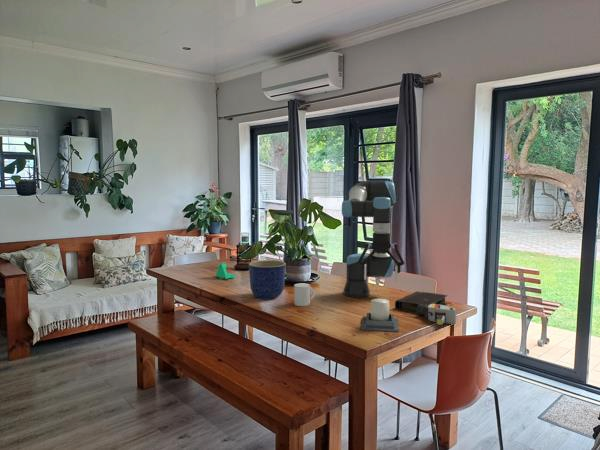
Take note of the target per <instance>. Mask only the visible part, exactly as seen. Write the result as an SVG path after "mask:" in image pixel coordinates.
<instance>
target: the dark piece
mask: <svg viewBox="0 0 600 450" xmlns="http://www.w3.org/2000/svg"><path fill="white" fill-rule="evenodd" d="M249 247H251V248H252V245H251V244H250V242H247V244H241V242H238V244H236V252H235V253H236V264H235V265H233V268H234V269H235V270H236V271H238V270H249V263H251V262H252V258H251V259H250V260H242V259H240V258H239V255H240V254H241V253H242V252H244V251H245V250H247V249H248V248H249Z"/></svg>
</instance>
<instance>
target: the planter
mask: <svg viewBox="0 0 600 450" xmlns="http://www.w3.org/2000/svg"><path fill="white" fill-rule="evenodd" d="M248 263H249V262H248ZM286 265H287V263H286V262H285V261H281V260H270V259H265V260H264V259H263V260H254V261H251V263H249V271H248V275H249V276H248V277H249V285H250V290H251V293H252V294H253V295H254V297H256V298H258V299H262V300H272V299H276V298H278V297H280V296H281V295H282V293H283V291H284V289H285V279H286Z"/></svg>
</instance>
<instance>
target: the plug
mask: <svg viewBox="0 0 600 450" xmlns="http://www.w3.org/2000/svg"><path fill="white" fill-rule="evenodd" d="M370 313H371V320H374V321H389V314H390V301H389V300H388V299H384V298H373V299H371V301H370Z"/></svg>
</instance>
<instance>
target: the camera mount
mask: <svg viewBox="0 0 600 450" xmlns="http://www.w3.org/2000/svg"><path fill="white" fill-rule="evenodd" d="M227 268H228V267H227V264H226V263H224V262H223V263H219V264H218V268H217V269H216V273H215V276H216V277H218V278H219V277H220V278H225V279H227V280H228V279H232V278H233V279H234V278H235V277H236V275H235V274H233V273H230V272H227ZM220 278H219V279H220ZM225 279H224V280H225Z"/></svg>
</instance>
